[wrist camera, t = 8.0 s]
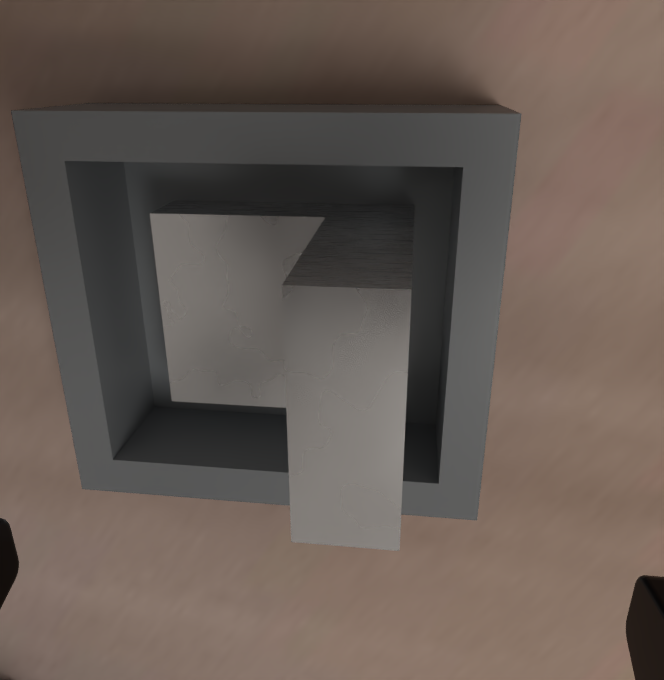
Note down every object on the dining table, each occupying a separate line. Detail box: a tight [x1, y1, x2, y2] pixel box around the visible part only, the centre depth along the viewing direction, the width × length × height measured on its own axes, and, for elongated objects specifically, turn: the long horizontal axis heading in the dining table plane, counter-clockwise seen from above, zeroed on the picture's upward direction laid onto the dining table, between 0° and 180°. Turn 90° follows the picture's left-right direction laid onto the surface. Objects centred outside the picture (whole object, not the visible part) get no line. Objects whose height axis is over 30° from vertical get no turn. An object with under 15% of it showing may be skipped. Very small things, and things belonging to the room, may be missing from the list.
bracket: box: [150, 200, 414, 551], centre depth 17 cm, size 6×7×8 cm
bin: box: [11, 103, 521, 520], centre depth 19 cm, size 11×12×4 cm
